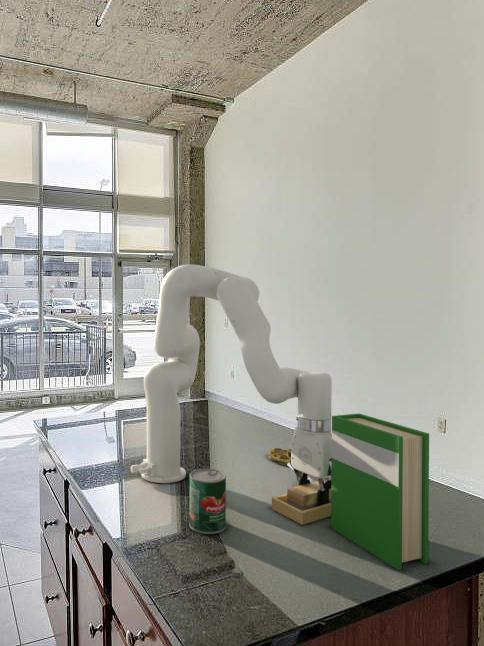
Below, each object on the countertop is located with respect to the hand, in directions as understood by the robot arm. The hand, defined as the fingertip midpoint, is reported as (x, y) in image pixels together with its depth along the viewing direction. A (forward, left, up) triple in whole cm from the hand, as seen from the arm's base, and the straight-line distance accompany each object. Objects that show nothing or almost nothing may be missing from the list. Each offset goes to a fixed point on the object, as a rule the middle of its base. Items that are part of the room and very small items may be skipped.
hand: (313, 500), depth 113 cm
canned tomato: (-27, +5, -2) cm, 28 cm away
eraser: (0, 0, 0) cm, 0 cm away
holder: (0, 0, -2) cm, 2 cm away
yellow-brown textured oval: (+20, +30, -2) cm, 36 cm away
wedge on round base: (+14, +12, -2) cm, 18 cm away
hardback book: (-2, -18, -2) cm, 18 cm away
